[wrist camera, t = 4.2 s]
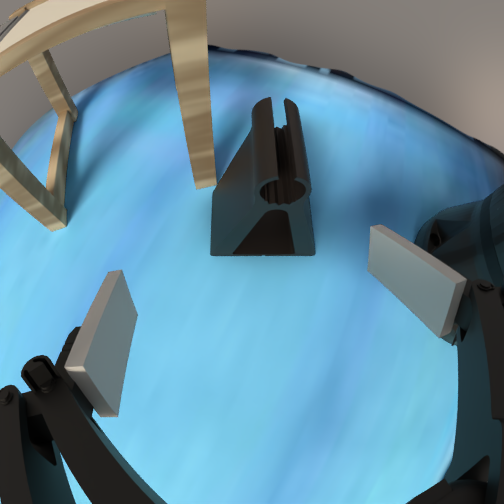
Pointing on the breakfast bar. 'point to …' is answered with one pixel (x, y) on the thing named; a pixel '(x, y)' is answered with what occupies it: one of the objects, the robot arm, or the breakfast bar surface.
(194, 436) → the breakfast bar surface
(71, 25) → the trapdoor frame
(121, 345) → the robot arm
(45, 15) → the trapdoor
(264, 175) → the phone stand
